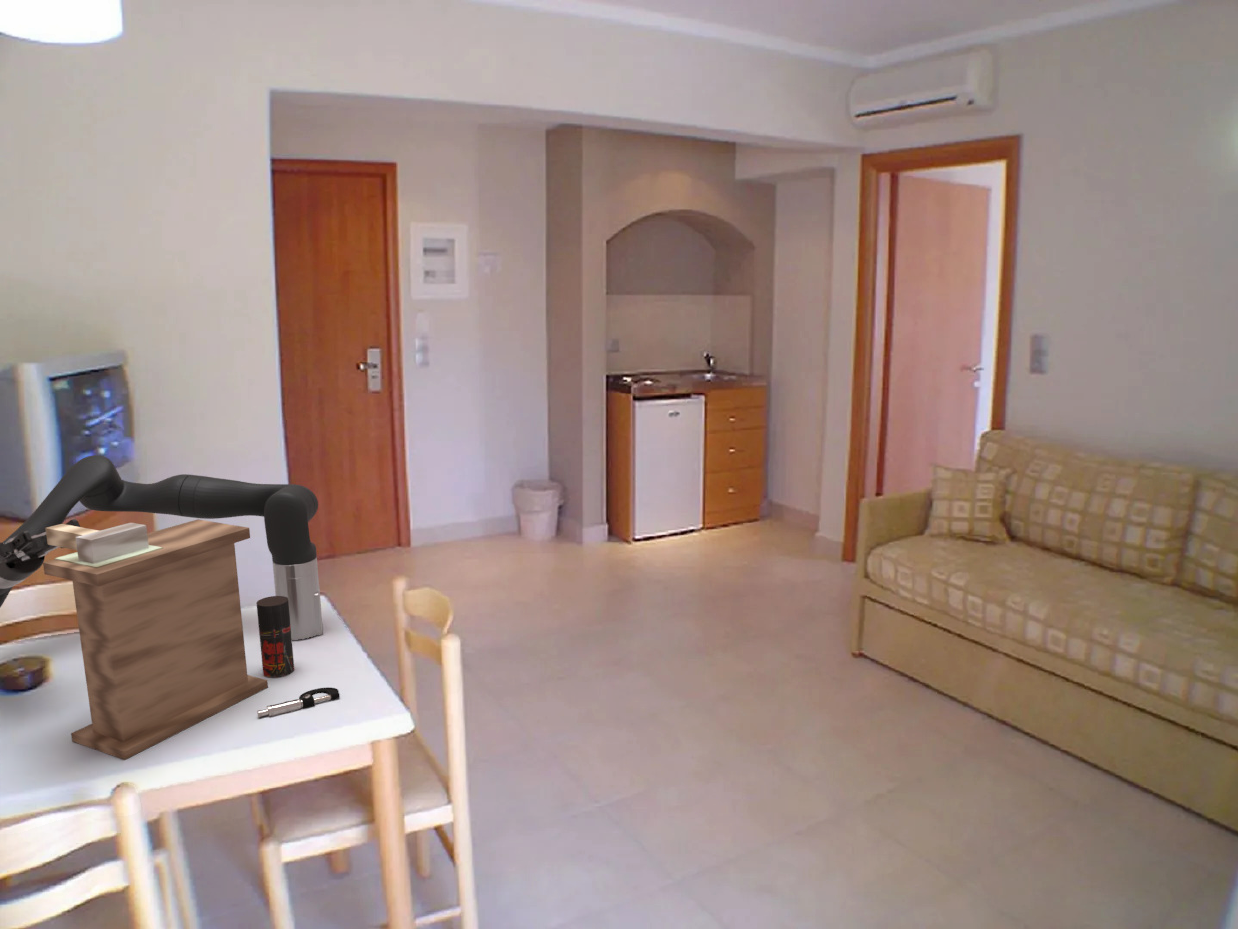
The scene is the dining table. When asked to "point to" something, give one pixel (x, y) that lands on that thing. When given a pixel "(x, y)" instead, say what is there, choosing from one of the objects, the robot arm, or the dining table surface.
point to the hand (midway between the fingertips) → (53, 529)
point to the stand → (160, 635)
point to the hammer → (99, 540)
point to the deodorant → (275, 636)
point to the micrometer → (299, 702)
